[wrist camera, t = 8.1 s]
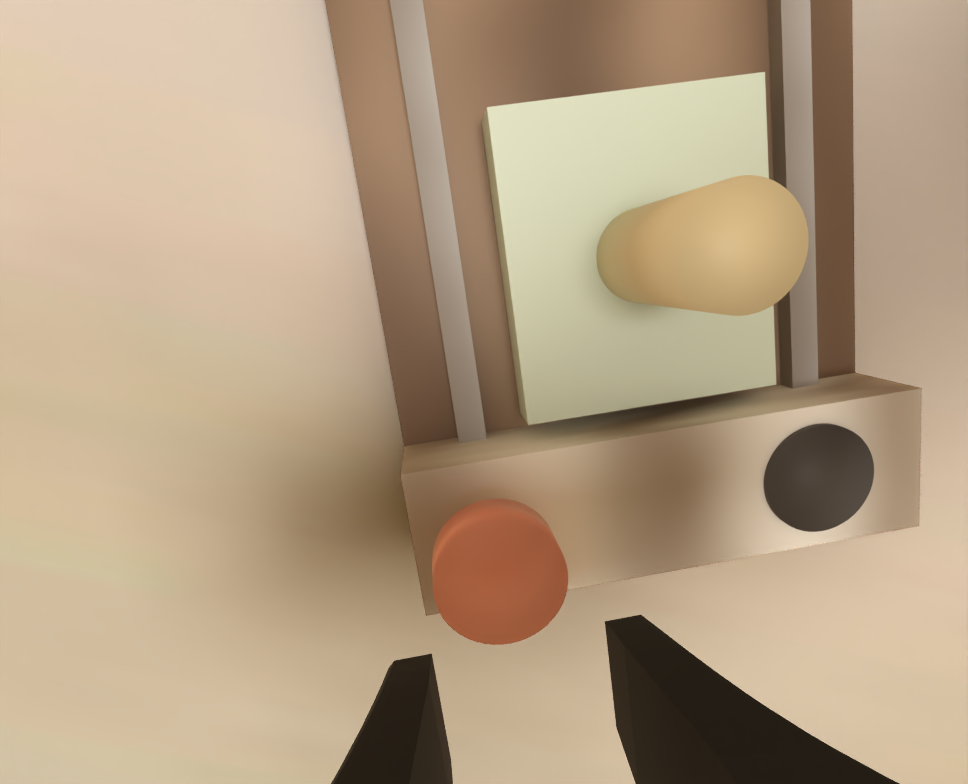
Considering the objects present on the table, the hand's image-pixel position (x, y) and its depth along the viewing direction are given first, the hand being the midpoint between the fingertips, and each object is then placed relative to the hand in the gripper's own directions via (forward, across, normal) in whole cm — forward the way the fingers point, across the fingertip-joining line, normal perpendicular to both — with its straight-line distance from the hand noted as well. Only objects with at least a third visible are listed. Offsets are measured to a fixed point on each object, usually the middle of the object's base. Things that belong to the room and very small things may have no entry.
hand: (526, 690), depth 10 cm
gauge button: (+5, 0, 0) cm, 5 cm away
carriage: (+8, -5, -6) cm, 12 cm away
